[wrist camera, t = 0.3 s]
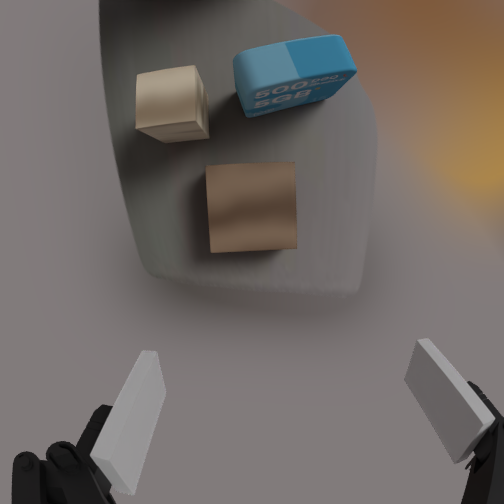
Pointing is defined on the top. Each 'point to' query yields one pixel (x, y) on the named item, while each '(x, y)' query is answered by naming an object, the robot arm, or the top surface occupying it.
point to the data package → (291, 73)
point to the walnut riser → (251, 206)
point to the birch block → (172, 105)
